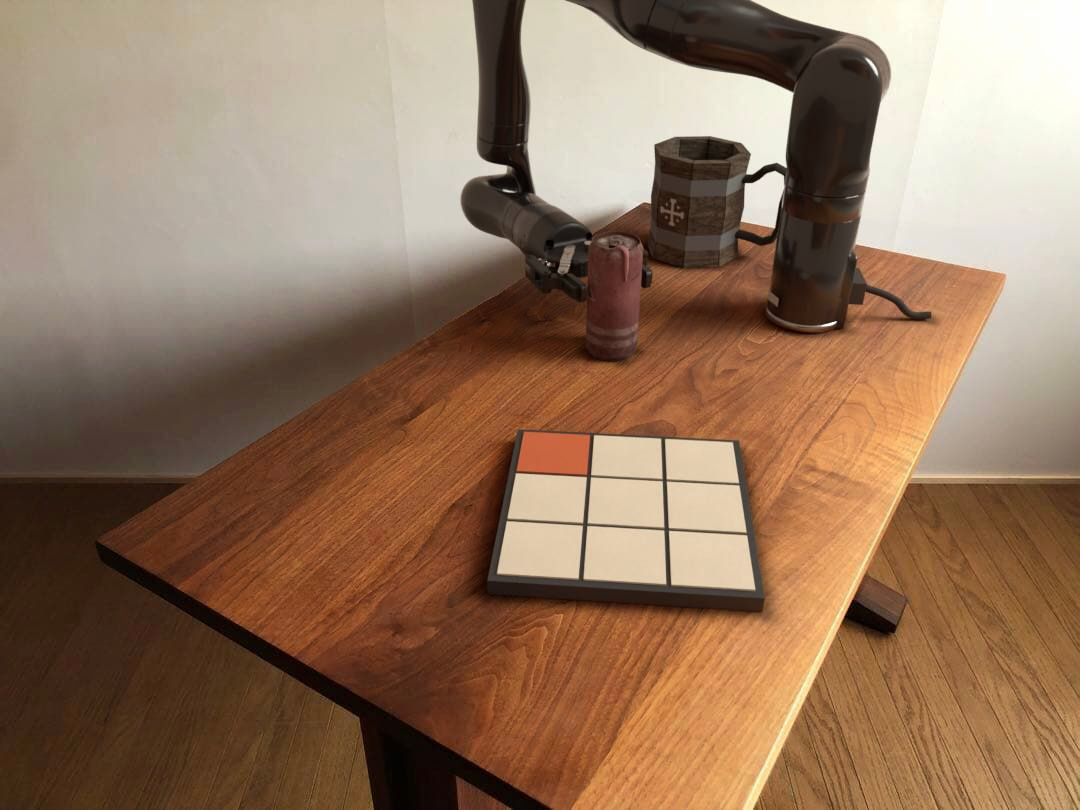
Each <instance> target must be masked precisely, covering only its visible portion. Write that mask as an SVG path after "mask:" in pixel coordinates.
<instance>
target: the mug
mask: <svg viewBox="0 0 1080 810" xmlns="http://www.w3.org/2000/svg"><path fill="white" fill-rule="evenodd" d="M653 147H654V148H653V149H654V150H653V151H654V172H653V173H654V174H653V181H652V188H651V194H650V227H649V234H648V238H647V244H646V245H647V248H648V250H649V252H650V254H651V257H652V259H655V260H657V261H659V262H660V261H661V262H663V263H665V264H666V263H667V264H670V265H673V266H676V267H678V268H682V269H691V268H692V269H694V268H695V269H696V268H697V269H698V268H720V267H722V266H723V265H725V264H726V263H729V262H731V261H732V260H734V259H736V258H737V257H738V256H739V240H742V241H745V242H748V243H752V244H755V245H757V246H760V247H763V246H767V245H771V244H774V243H775V242H776V241H777V234H778V227H779V221H780V214H781V207H782V200H783V193H784V189H783V191H782V193H781V196H780V199H779V202H778V208H777V212H776V220H775V225H774V229H773V230H772V232H771V234H770V235H766V236H761V235H758V234H757V233H754V232H752V231H749V230H745V229H741V228H740V226H741V223H742V222H741V221H742V218H743V213H744V209H745V194H746V193H745V190H746V184H755V183H756V182H758V181H760V180H761V179H762V178H763V177H765V175H767V174H771V173H773V172H775V173H778V174H780V175H781V176H783V187H784V186H785V179H786V172H787V166H784V165H782V164H780V163H778V162H774V163H769V164H765V165H763V166H762V167H761V168H759V169H758V170H757V171H755V172H754V173H752V174H751V173H750V174H749V173H748V168H749V165H750V161H751V156H752V153H751V152H750V151H749V150H748V148H746V146H745V145H744V144H743V143H742V142H740V141H734V140H730V139H726V138H721V137H716V136H713V135H712V136H711V135H708V136H707V135H702V136H701V135H699V136H698V135H697V136H694V135H693V136H673V137H671V138H668V139H665V140H663V141H659V142H657V143H655V144H654V145H653ZM747 173H748V174H747Z"/></svg>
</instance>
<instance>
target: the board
mask: <svg viewBox="0 0 1080 810" xmlns="http://www.w3.org/2000/svg"><path fill="white" fill-rule="evenodd" d="M744 468H745V467H744V462H743V455H742V450H741V443H740V440H738V439H719V438H701V437H700V438H697V437H695V438H694V437H679V436H678V437H677V436H659V435H642V434H641V435H640V434H638V435H637V434H619V433H618V434H617V433H601V432H600V433H599V432H583V431H582V432H581V431H562V430H561V431H559V430H543V429H542V430H540V429H523V428H522V429H521V428H519V429H517V431H516V436H515V441H514V446H513V451H512V456H511V462H510V467H509V472H508V476H507V481H506V487H505V491H504V495H503V501H502V505H501V511H500V516H499V520H498V526H497V531H496V535H495V540H494V546H493V550H492V554H491V561H490V565H489V570H488V573H487V574H488V575H487V580H486V584H487V586H486V588H487V595H494V596H495V595H496V596H509V597H511V596H512V597H528V598H539V599H540V598H541V599H557V600H574V601H589V602H601V603H602V602H603V603H605V602H606V603H620V604H632V605H633V604H634V605H649V606H650V605H651V606H666V607H679V608H681V607H682V608H695V609H696V608H697V609H711V610H725V611H726V610H727V611H740V612H741V611H742V612H758V613H763V612H764V606H765V600H766V597H765V596H766V595H765V589H764V584H763V578H762V573H761V566H760V559H759V554H758V548H757V541H756V535H755V530H754V529H755V528H754V523H753V517H752V510H751V505H750V499H749V494H748V493H749V491H748V487H747V481H746V474H745V469H744Z"/></svg>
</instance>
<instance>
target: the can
mask: <svg viewBox="0 0 1080 810" xmlns="http://www.w3.org/2000/svg"><path fill="white" fill-rule="evenodd" d="M641 241H642V240H641V239H640V237H639V236H637V235H635V234H633V233H630V232H625V231H619V230H618V231H615V230H613V231H604V232H600V233H598V234H597V233H596V234H595V235H593V238H592V241H591V243H590V245H589V252H588V276H587V284H586V286H587V300H586V321H585V323H586V324H585V348H586V350H587V352H588V353H589V354H590V355H591V356H592V357H593V358H596V359H599V360H602V361H606V362H619V361H623V360H627V359H629V358H631V357H632V355H634V353H635V352H636V351H637V349H638V339H639V337H638V336H639V322H640V321H639V320H640V306H641V293H642V292H641V289H642V287H641V277H642V261H643V249H644V245H643V244H642V242H641Z"/></svg>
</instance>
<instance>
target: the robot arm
mask: <svg viewBox="0 0 1080 810" xmlns="http://www.w3.org/2000/svg"><path fill="white" fill-rule="evenodd" d="M471 1H472V11H473V22H474V23H473V24H474V31H475V42H476V54H477V71H478V73H477V74H478V101H477V102H478V103H477V120H476V121H477V123H476V152H477V154H478V156H479V158H481V160H483V161H485V162H487V163H490V164H494V165H498V166H506V172H505V173H498V174H497V173H496V174H488V175H481V176H476V177H473V178H471V179H469V180H468V181H467V182H466V183H465V184H464V185H463V187H462V190H461V192H460V200H459V201H460V207H461V210H462V213H463V216H464V217H465V218H466V220H467V221H468V222H469V224H470V225H471V226H473V228H475V229H477V230H479V231H481V232H483V233H485V234H488V235H491V236H494V237H497V238H501V239H506V240H508V241H509V242H510V243H512V244H513V245H514V246H515V247H517V248H518V249H519V250H520V252H521V253H522V254H523V255H524V264H525V265H524V274H525V277H526V278H527V280H528V281H530V282H531V284H532V285H534V287H535V288H536V289H538V290H539V291H540V293H542V294H550V293H552V290H556V291H557V292H558V293H561V294H562V293H564V294H565V295H566V296H568V297H569V299H572V300H575V301H576V302H578V303H579V304H581V303H587V284H586V283H585V282H584V281H582V280H581V279H583V278H586V277H588V252H589V245H590V243H591V241H592V238H593V237H594V234H593V233H592V231H591V230H590V228H588V227H587V226H586V224H584V223H582V222H580V221H579V220H578V219H576V218H575V217H574V216H572V215H570V214H569V213H567V212H566V211H564V210H563V209H561V208H560V207H558V206H555V205H553V204H551V203H549V202H548V201H546V200H545V199H543V198H542V197H540V196H538V195H537V191H536V187H535V182H534V177H533V173H532V167H531V160H530V154H529V153H530V151H529V137H530V124H531V112H532V111H531V110H532V104H531V103H532V101H531V100H532V99H531V90H530V83H529V79H528V74H527V71H526V66H525V62H524V57H523V48H522V25H523V18H524V12H525V8H526V2H527V0H471ZM564 1H566V2H569V3H571V4H575V5H577V6H580V7H581V8H584V9H585V10H588V11H589V12H591V13H593V14H594V15H596V16H597V17H598V18H600V19H601V20H602V21H603V22H604V23H605V24H607V25H608V26H609V27H610V28H611V29H612V30H613V31H615V32H616V33H617V34H618V35H620V36H621V37H622V38H623V39H625V40H626V41H627V42H629V43H631V44H632V45H634V46H636V47H637V48H640V49H642V50H644V51H647V52H648V53H651V54H654V55H656V56H659V57H662V58H663V59H667V60H669V61H671V62H674V63H677V64H679V65H680V64H681V65H683V66H687V67H691V68H695V69H700V70H704V71H705V70H706V71H712V72H718V73H725V74H726V73H727V74H728V73H729V74H734V75H741V76H747V77H753V78H756V79H759V80H763V81H764V82H765V81H766V82H768V83H770V84H773V85H775V86H778V87H780V88H782V89H785V90H786V91H788V92H790V93H792V100H791V106H790V114H789V122H788V131H787V139H786V147H785V164H786V168H787V172H786V179H785V186H784V185H783V187H784V188H783V190H784V193H783V192H782V193H783V200H782V207H781V214H780V221H779V227H778V234H777V239H776V240H775V249H774V254H773V262H772V269H771V275H770V280H769V281H770V282H769V289H768V293H767V300H766V301H767V302H766V305H765V312H764V313H765V316H766V318H767V319H768V320H769V321H770V322H771V323H773V324H774V325H776V326H778V327H780V328H783V329H785V330H788V331H793V332H800V333H808V334H809V333H811V334H815V333H816V334H817V333H825V332H829V331H833V330H835V329H845V326H846V319H847V315H848V309H849V305H856V306H863V305H864V300H865V295H866V293H867V294H870V295H874V296H877V297H880V298H882V299H885V300H887V301H889V302H891V303H893V304H894V305H895V306H896V307H897V309H898V310H899V311H900V313H902V314H903V315H904V316H905V317H908V318H909V319H911V320H930V319H932V311H913V310H911V309H910V308H909V307H908V306H907V305H906V304H905V302H904V301H903V300H902V299H901V298H900V297H898V296H897V295H895V294H893V293H891V292H889V291H887V290H884V289H882V288H878V287H876V286H873V285H870V284H868V283H867V281H866V279H865V277H864V275H863V273H862V271H861V268H860V267H857V265H858V258H859V257H858V255H857V252H856V251H855V249H856V243H857V240H858V239H857V238H858V233H859V228H860V223H861V218H862V212H863V207H864V202H865V198H866V193H867V187H868V182H869V178H870V174H871V173H870V172H871V166H870V164H871V154H872V148H873V143H874V137H875V134H876V133H875V132H876V127H877V121H878V116H879V112H880V106H881V103H882V101H883V100H884V98H885V96H886V95H887V93H888V91H889V89H890V86H891V81H892V68H891V63H890V61H889V59H888V56H887V54H886V53H885V51H884V50H883V49H882V48H881V47H880V45H878V44H877V43H876V42H875V41H873V40H872V39H870V38H868V37H864V36H862V35H858V34H856V33H855V34H854V33H850V32H846V31H842V30H838V29H833V28H829V27H826V26H821V25H818V24H814V23H810V22H806V21H802V20H799V19H797V18H792V17H789V16H787V15H784V14H781V13H780V12H776V11H774V10H773V9H770V8H768V7H766V6H763V5H762V4H760V3H757V2H756V1H753V0H564ZM648 257H649V251H647V249H644V248H643V261H642V277H641V288H643V289H650V288H651V287H652V283H653V274H654V273H653V270H652V269H651V268H650V267H649V266H648Z"/></svg>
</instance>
